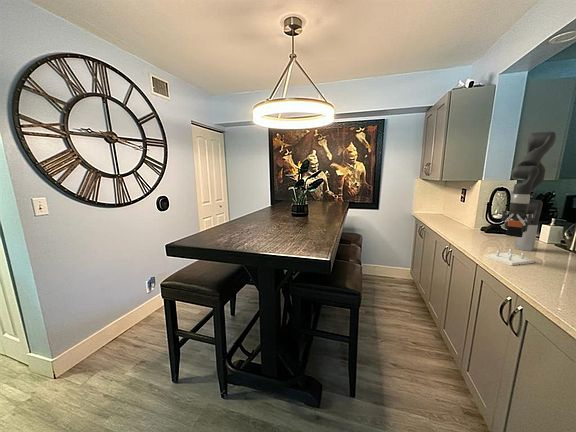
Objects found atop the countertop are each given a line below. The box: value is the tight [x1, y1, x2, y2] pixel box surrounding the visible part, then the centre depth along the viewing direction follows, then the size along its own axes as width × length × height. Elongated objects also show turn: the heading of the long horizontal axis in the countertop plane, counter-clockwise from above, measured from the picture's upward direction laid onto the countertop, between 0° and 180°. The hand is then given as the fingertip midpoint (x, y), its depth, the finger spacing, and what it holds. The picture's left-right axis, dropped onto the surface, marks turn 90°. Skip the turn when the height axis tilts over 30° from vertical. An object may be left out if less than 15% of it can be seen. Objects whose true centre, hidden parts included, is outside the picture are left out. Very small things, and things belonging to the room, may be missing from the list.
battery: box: [505, 219, 523, 238], centre depth 138 cm, size 4×7×10 cm, turn 46°
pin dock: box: [485, 248, 536, 266], centre depth 141 cm, size 18×14×5 cm
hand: (514, 230), depth 138 cm, fingers closed on battery, 8 cm apart
